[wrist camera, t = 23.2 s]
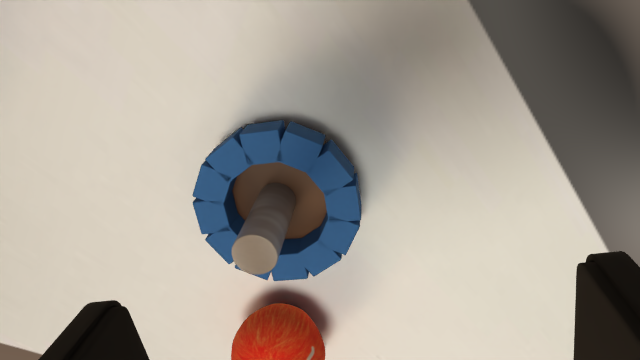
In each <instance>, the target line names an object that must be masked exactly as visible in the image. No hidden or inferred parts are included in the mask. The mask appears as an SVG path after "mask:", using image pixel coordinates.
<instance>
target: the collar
mask: <svg viewBox="0 0 640 360" xmlns="http://www.w3.org/2000/svg"><path fill="white" fill-rule="evenodd" d="M324 140H325V135H324V134H322V133H319V132H317V131H314V130H312V129H309V128H307V127H304V126H302V125H299V124H297V123H294V122H292V121H291V122H290V123H289V125H288V127H287V128H286V130H285V125H284V121H283V120H280V121H272V122H264V123H256V124H248V125H247V126H246V127H245V128H244V130H243V129H242V127H241V128H239V129H238V130H237V131H236V132H234V133H233V134H232V135H231V136H229V137H228V138H227V139H226V140H224V141H223V142H222V143H221V144H220V145H218V146H217V147H216V148H215V149H214V150H213V151H212V152H211V153H210V154H209V155H208V157H207V158H206V159H205V160H206V161H205V162H204V163H203V164H202V165H201V168H200V172H199V175H198V179H197V182H196V185H195V189H194V192H193V197H196V199H195V200H194V201H193V206H194V209H195V213H196V216H197V220H198V223H199V226H200V230H201V233H202V234H208V236H207V238H206V239H205V240H206V241H207V242H208V243H209V244H210V245H211V246H212V247H213V248H214V250H215V251H216V252H217V253H218V254H219V255H220V256H221V257H222V258H223V259H224V260H225V261H226V262H227V263H228V264H230V263H232V262H233V261H234V260H233V258H232V246H233V244H234V242H235V240H236V238H237V236H238V234H239V232H240V230H241V228H242V226H243V224H244V223H245V220H244V219H243V218H242V217H241V216H240V215H239V214H238V212H237V208H236V204H235V200H234V196H233V193H232V190H233V187H234V184H235V181H236V178H237V176H238V175H240V174H241V173H242V172H244V171H245V170H246V169H247V168H249V167H250V166H251V165H257V164H266V163H275V162H281V163H283V164H286V165H288V166H291V167H293V168H296V169H298V170H301V171H303V172H306V173H307V174H308V176H309V177H310V178H311V179H312V180H313V181H314V183H315V184H316V185H317V186H318V187H319V188H320V190H321V191H322V192H323V193H324V198H325V203H326V209H327V213H326V215H325V218H324V220H323V222H322V224H321V226H319V227H318V228H316V229H315V230H313V231H312V232H310V233H309V234H307V235H306V236H304V237H303V238H297V239H285V240H284V242H283V245H282V248H281V251H280V255H279V258H278V261H277V263H276V265H275V267H274V268H273V269H272V270H271V271H269V272H267V273H265V274H260V275H255V274H252V275H255V276H257V277H260V278H263V279H265V280H268V277H269V275H270V273H271V272H272V276H273V280H274V281H281V280H295V279H307V278H308V274H309V272H310V273H311V274H312V275H313V276H315V275H317V274H319V273H320V272H322V271H323V270H325V269H327V268H328V267H330V266H332V265H333V264H335V263H336V262H338V261H340V260H341V256H342V254H344V255H346V253H347V251H348V249H349V247H350V245H351V243H352V241H353V239H354V237H355V235H356V233H357V231H358V229H359V227H360V220H361V198H360V191H359V184H358V176H357V173H354V166H353V165H352V164H351V162H350V161H349V160H348V159H347V157H346V156H345V155H344V154H343V153H342V151H341V150H340V149H339V148H338V146H337V145H336V144H335V143H334V142H333V140H332V139H331V140H329V141H328V142H327V143H325V144H324V145H323V143H324ZM235 268H236V269H239V270H241V269H240V268H239V267H238V266H237V265H235ZM242 271H243V270H242ZM244 272H245V271H244Z"/></svg>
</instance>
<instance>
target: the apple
mask: <svg viewBox="0 0 640 360" xmlns="http://www.w3.org/2000/svg"><path fill="white" fill-rule="evenodd" d="M231 360H325V346H324V342H323V339H322V337H321V334H320V332H319V330H318V328H317V327H316V325H315V323H314V322H313V321H312V319H311V318H310V317H309V316H308V315H307V314H306V313H305V312H304V311H303V310H301V309H300V308H298V307H295V306H292V305H289V304H283V303H275V304H271V305H268V306H265V307H263V308H261V309H259V310H257V311H255V312H254V313H252V314H251V315H250V316H249V317H248V318H247V319H246V320H245V321H244V322H243V324H242V325H241V327H240V328H239V330H238V331H237V333H236V335H235V338H234V340H233V344H232V353H231Z"/></svg>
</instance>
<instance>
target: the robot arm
mask: <svg viewBox="0 0 640 360" xmlns="http://www.w3.org/2000/svg"><path fill="white" fill-rule="evenodd" d="M39 360H149V358H148V355H147V353H146V351H145V348H144V346H143V344H142V341H141V339H140V337H139V334H138V332H137V330H136V327H135V325H134V323H133V320H132V318H131V316H130V313H129V311H128V310H127V308H126V307H123V306H121V304H120V303H119V302H118V301H114V300H112V301H102V302H92V303H89V304H87V305H86V306H85V307H84V308H83V309H82V310H81V311H80V312H79V314H78V315H77V316H76V317H75V318H74V319H73V320H72V322H71V323H70V324H69V325H68V326H67V327H66V329H65V330H64V331H63V332H62V333H61V334H60V335H59V337H58V338H57V339H56V340H55V341H54V342H53V344H52V345H51V346H50V347H49V348H48V349H47V350H46V352H45V353H44V354H43V355H42V357H40V359H39ZM574 360H640V267H639V266H638V265H637V264H636V263H635V262H634V261H633V260H632V259H631V257H630V256H629V255H628V254H626V253H625V252H622V251H619V252H608V253H598V254H590V255H588V257H587V259H586V263H579V264H578V266H577V276H576V306H575V337H574Z"/></svg>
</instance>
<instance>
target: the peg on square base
mask: <svg viewBox="0 0 640 360" xmlns="http://www.w3.org/2000/svg"><path fill="white" fill-rule="evenodd" d="M322 134H324V135H325V133H322ZM325 143H326V138H325V140H324V143H323V145H324V144H325ZM232 193H233V196H234V200H235V204H236V208H237V212H238V214H239V215H240V216H241V217H242V218H243V219H244V220H245V223H244V224H243V226H242V228H241V230H240V232H239V234H238V236H237V238H236V240H235V242H234V244H233V246H232V258H233V260H234V262H235V264H236V265H237V266H238V267H239V268H240V269H241V270H243V271H245V272H247V273H250V274H255V275H260V274H265V273H267V272H269V271H271V270H272V269H273V268H274V267H275V265H276V263H277V261H278V258H279V255H280V251H281V248H282V245H283V242H284V240H285V239H297V238H303V237H304V236H306V235H307V234H309V233H310V232H312V231H313V230H315V229H316V228H318V227H319V226H321V224H322V222H323V220H324V218H325V215H326V213H327V209H326V203H325V198H324V193H323V192H322V191H321V190H320V188H319V187H318V186H317V185H316V184H315V183H314V181H313V180H312V179H311V178H310V177H309V176H308V174H307V173H306V172H303V171H301V170H298V169H296V168H293V167H291V166H288V165H286V164H283V163H281V162H275V163H266V164H257V165H251V166H250V167H249V168H247V169H246V170H245V171H244V172H242V173H241V174H240V175H238V176H237V178H236V181H235V184H234V187H233V190H232Z"/></svg>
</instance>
